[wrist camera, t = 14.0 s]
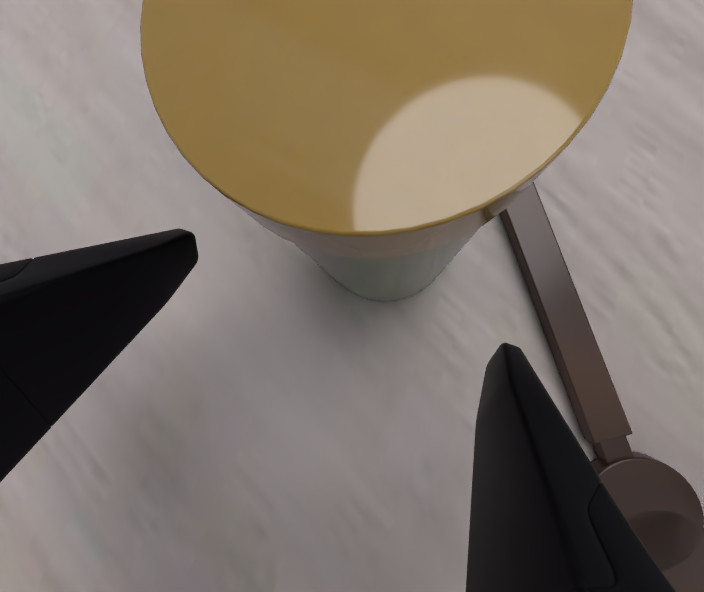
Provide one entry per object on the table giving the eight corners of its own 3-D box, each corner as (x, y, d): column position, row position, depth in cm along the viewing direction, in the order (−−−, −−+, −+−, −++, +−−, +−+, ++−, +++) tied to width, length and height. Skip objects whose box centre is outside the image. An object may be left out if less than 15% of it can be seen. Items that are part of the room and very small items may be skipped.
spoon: (724, 595, 14) (747, 613, 13) (615, 620, 14) (630, 639, 14) (552, 169, 16) (561, 160, 16) (462, 199, 17) (466, 192, 16)
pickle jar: (473, 280, 16) (730, 128, 4) (340, 321, 17) (199, 302, 5) (428, 153, 17) (524, -298, 5) (302, 197, 18) (97, -108, 5)
